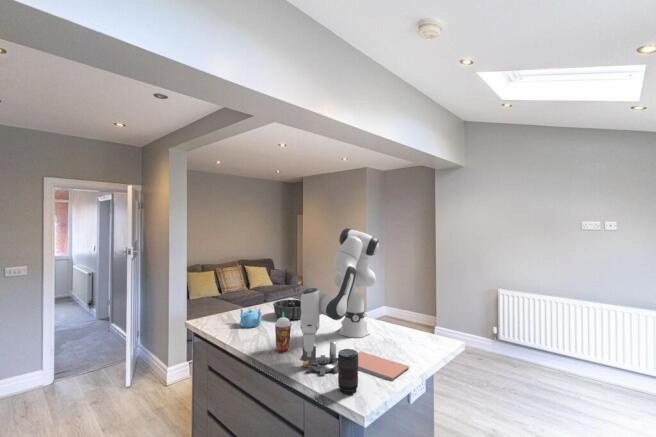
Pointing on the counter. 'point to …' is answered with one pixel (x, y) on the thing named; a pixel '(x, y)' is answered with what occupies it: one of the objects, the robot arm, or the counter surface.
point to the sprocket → (324, 362)
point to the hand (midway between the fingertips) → (309, 354)
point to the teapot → (250, 318)
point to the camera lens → (348, 371)
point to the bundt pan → (288, 309)
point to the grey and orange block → (313, 354)
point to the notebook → (380, 366)
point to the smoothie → (282, 334)
